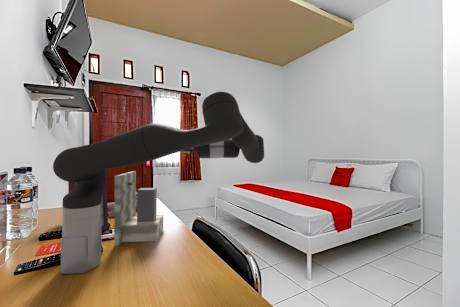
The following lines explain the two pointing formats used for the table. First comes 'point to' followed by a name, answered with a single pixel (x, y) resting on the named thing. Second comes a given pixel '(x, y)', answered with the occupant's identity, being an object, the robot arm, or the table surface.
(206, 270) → the table surface
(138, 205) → the dark grey block
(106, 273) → the table surface
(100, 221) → the robot arm
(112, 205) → the video game controller
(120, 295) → the table surface
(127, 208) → the wall shelf
